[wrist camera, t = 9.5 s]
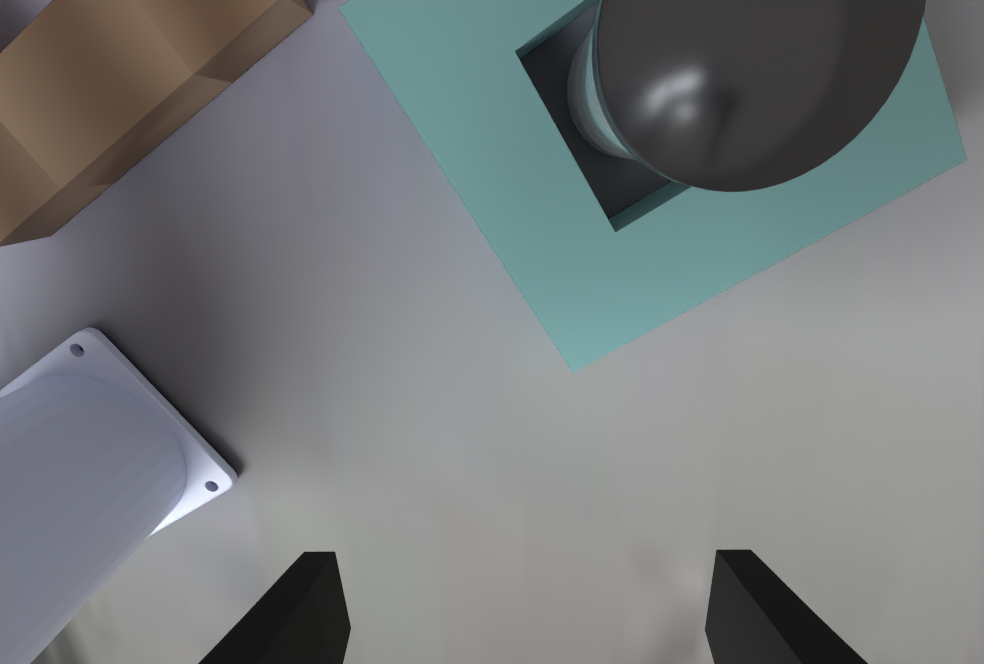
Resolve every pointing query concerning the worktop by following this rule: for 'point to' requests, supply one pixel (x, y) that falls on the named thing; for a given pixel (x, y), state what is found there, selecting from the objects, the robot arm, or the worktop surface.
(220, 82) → the mount board
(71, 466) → the robot arm
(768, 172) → the lock pin
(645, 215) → the socket board
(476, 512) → the worktop surface
